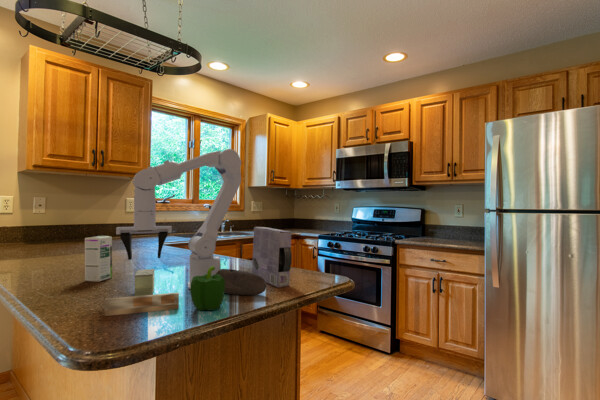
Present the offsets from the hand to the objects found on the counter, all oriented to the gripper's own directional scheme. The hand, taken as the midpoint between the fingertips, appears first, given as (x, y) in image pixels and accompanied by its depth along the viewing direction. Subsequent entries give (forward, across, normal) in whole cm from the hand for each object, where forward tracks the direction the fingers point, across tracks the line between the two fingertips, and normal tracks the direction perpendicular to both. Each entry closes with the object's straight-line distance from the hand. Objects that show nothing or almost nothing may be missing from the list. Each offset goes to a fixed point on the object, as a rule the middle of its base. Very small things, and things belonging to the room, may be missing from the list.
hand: (144, 258), depth 98 cm
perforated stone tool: (+10, -26, +11) cm, 30 cm away
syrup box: (+10, +16, -23) cm, 30 cm away
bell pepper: (+10, -16, +21) cm, 28 cm away
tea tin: (+10, 0, 0) cm, 10 cm away
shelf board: (+10, -1, +14) cm, 17 cm away
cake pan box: (+10, -38, -1) cm, 39 cm away
